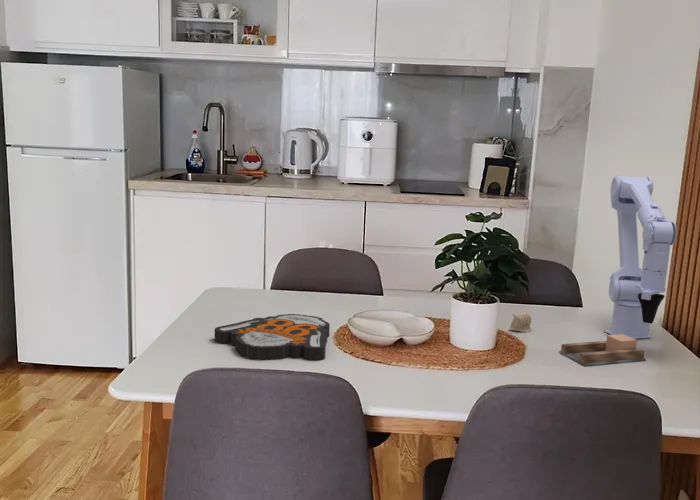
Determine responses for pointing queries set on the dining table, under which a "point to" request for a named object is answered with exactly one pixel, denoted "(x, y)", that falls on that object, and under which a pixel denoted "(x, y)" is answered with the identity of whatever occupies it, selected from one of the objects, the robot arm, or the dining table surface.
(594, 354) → the walnut chute
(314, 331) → the decorative emblem
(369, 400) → the dining table surface
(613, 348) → the block
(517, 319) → the decorative ornament
